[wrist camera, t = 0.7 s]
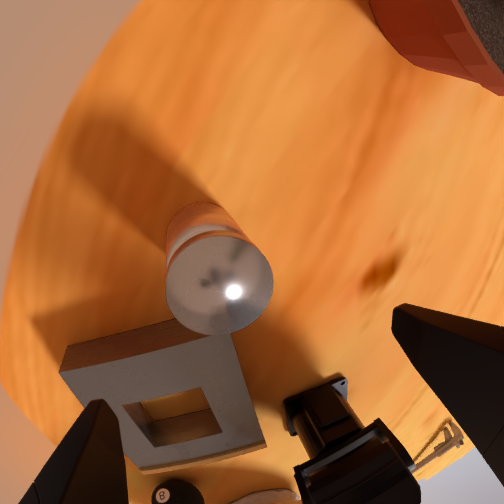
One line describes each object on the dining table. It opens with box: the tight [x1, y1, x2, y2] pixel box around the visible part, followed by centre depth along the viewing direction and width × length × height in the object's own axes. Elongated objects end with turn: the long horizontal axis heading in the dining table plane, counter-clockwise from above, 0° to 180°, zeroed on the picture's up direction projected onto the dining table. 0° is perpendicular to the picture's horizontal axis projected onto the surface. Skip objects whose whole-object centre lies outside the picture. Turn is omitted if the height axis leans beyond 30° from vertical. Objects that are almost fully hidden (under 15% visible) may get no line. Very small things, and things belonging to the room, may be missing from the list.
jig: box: [59, 318, 267, 475], centre depth 21 cm, size 14×12×3 cm
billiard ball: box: [151, 480, 205, 504], centre depth 25 cm, size 6×6×6 cm
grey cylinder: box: [165, 202, 273, 335], centre depth 16 cm, size 4×4×7 cm
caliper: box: [411, 422, 464, 474], centre depth 44 cm, size 20×1×6 cm, turn 160°
